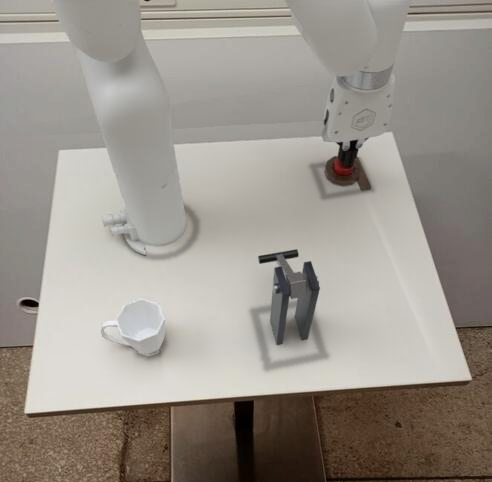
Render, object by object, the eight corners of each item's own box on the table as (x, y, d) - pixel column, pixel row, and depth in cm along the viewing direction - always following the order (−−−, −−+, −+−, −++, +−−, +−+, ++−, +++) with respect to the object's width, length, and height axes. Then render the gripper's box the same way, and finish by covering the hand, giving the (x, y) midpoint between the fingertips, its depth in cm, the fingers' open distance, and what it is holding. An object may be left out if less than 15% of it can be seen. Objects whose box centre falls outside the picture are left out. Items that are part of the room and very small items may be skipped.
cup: (171, 364, 76) (163, 340, 69) (105, 365, 76) (91, 342, 69) (173, 323, 80) (166, 297, 73) (110, 324, 80) (97, 298, 72)
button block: (324, 197, 92) (326, 187, 90) (312, 166, 96) (314, 156, 94) (370, 189, 93) (373, 179, 91) (357, 159, 97) (360, 149, 95)
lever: (258, 265, 76) (257, 251, 75) (297, 258, 76) (296, 244, 75) (277, 301, 66) (275, 285, 64) (321, 293, 66) (320, 277, 65)
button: (336, 178, 92) (338, 170, 90) (330, 164, 93) (332, 156, 92) (355, 175, 92) (357, 167, 90) (349, 161, 94) (351, 153, 92)
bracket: (253, 311, 81) (254, 252, 67) (307, 301, 82) (319, 241, 68) (267, 367, 76) (272, 316, 62) (324, 356, 77) (341, 303, 63)
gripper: (325, 91, 72) (311, 183, 89) (423, 76, 74) (392, 169, 90) (311, 59, 76) (300, 153, 92) (405, 46, 77) (378, 140, 93)
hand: (346, 161), depth 91 cm, fingers closed
